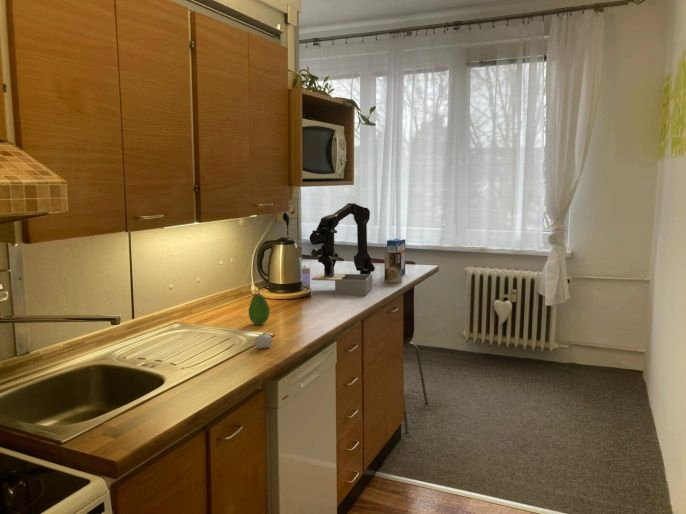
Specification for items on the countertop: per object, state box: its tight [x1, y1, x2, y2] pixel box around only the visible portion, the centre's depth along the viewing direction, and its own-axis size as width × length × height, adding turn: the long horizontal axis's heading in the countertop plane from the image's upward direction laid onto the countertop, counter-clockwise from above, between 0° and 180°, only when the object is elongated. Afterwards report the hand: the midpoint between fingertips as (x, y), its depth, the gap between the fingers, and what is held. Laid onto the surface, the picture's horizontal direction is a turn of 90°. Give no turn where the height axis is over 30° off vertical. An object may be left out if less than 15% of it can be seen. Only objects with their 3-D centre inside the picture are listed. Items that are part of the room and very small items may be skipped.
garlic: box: [254, 331, 273, 350], centre depth 185 cm, size 6×5×5 cm
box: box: [334, 273, 373, 296], centre depth 273 cm, size 16×15×7 cm
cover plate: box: [311, 266, 347, 282], centre depth 275 cm, size 14×14×5 cm
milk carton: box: [386, 238, 406, 276], centre depth 316 cm, size 10×6×20 cm, turn 144°
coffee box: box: [383, 250, 403, 283], centre depth 297 cm, size 9×6×16 cm
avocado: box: [248, 293, 270, 326], centre depth 214 cm, size 8×8×12 cm
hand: (329, 274), depth 275 cm, fingers closed on cover plate, 4 cm apart
